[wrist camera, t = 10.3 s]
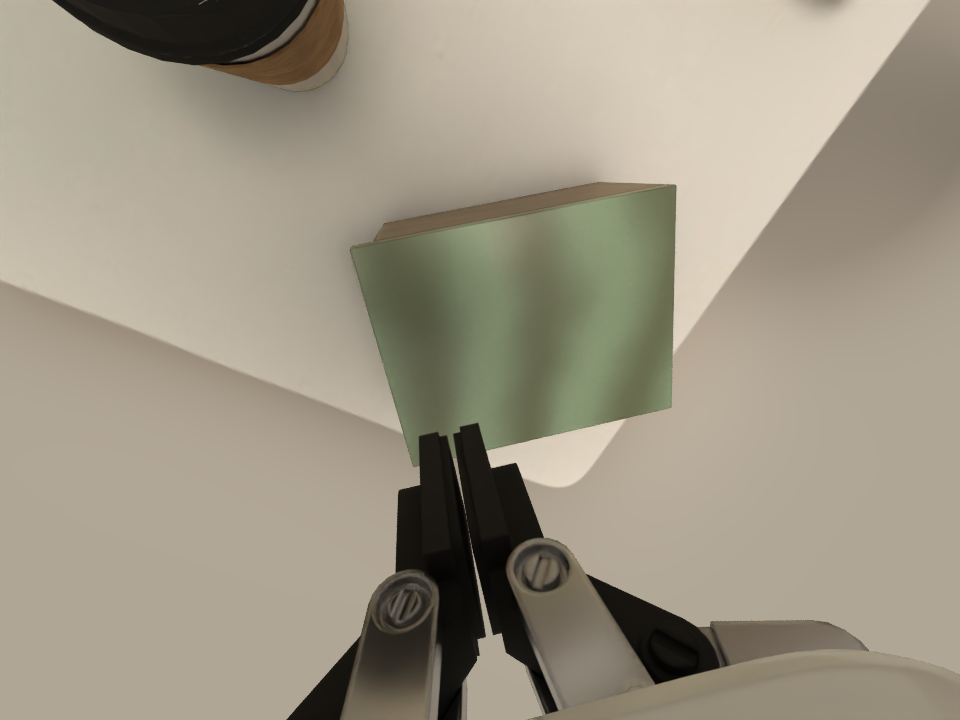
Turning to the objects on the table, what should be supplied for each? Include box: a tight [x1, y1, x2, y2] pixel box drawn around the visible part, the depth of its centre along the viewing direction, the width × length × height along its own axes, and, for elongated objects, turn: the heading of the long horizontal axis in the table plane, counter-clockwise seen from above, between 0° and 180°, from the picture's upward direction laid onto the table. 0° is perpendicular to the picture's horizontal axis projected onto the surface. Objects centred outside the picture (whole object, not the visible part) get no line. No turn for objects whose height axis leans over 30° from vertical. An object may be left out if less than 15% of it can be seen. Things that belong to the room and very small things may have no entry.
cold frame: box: [373, 182, 665, 242], centre depth 25 cm, size 14×12×8 cm
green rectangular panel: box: [350, 184, 676, 467], centre depth 21 cm, size 14×12×1 cm
